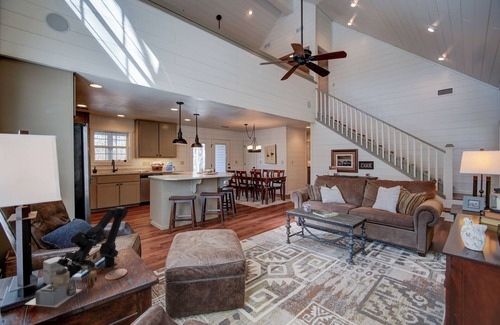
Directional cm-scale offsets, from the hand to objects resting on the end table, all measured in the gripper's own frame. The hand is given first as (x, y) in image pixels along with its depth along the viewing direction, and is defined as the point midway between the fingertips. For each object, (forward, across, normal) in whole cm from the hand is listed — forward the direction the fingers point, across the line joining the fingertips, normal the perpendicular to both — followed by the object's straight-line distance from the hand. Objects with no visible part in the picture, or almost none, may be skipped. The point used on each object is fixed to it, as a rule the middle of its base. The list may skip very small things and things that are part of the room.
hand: (66, 280), depth 116 cm
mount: (+8, -1, +2) cm, 9 cm away
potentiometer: (+5, +5, +3) cm, 8 cm away
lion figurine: (-3, +4, +13) cm, 14 cm away
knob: (+6, 0, +2) cm, 6 cm away
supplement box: (-1, -17, +12) cm, 21 cm away
